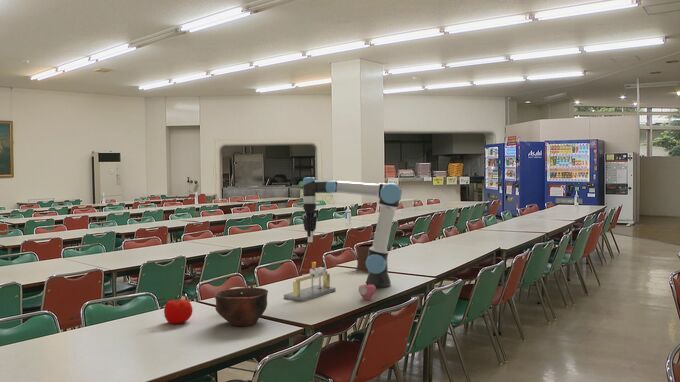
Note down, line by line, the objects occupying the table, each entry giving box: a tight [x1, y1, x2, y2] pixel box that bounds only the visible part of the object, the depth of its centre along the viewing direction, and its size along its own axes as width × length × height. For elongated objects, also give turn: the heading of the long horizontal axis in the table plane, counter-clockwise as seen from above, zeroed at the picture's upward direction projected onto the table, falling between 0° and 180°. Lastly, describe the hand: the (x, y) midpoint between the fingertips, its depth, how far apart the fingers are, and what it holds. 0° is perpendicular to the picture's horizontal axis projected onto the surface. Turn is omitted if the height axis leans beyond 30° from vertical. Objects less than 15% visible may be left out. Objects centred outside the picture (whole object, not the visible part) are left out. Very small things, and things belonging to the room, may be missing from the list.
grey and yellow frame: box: [283, 266, 337, 302], centre depth 316 cm, size 14×30×14 cm, turn 144°
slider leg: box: [309, 261, 319, 290], centre depth 317 cm, size 4×3×16 cm
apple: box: [358, 280, 377, 301], centre depth 301 cm, size 10×9×10 cm
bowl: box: [213, 287, 269, 327], centre depth 260 cm, size 25×25×15 cm
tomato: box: [163, 297, 194, 325], centre depth 263 cm, size 12×13×12 cm
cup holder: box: [346, 234, 373, 273], centre depth 392 cm, size 18×24×25 cm
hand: (310, 242), depth 330 cm, fingers closed
